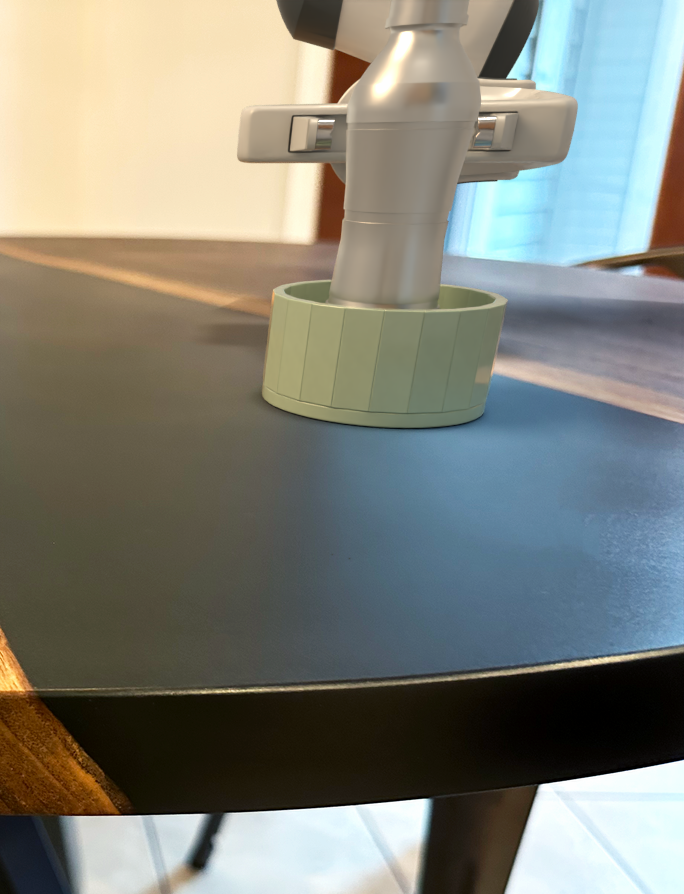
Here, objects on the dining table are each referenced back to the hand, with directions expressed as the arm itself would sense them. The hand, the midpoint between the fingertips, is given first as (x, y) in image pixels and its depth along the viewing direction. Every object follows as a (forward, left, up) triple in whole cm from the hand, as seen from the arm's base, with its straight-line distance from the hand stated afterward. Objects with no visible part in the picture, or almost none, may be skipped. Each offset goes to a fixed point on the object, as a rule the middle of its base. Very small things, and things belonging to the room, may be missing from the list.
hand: (403, 133), depth 61 cm
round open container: (+4, +9, -14) cm, 17 cm away
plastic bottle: (+4, +9, -13) cm, 17 cm away
